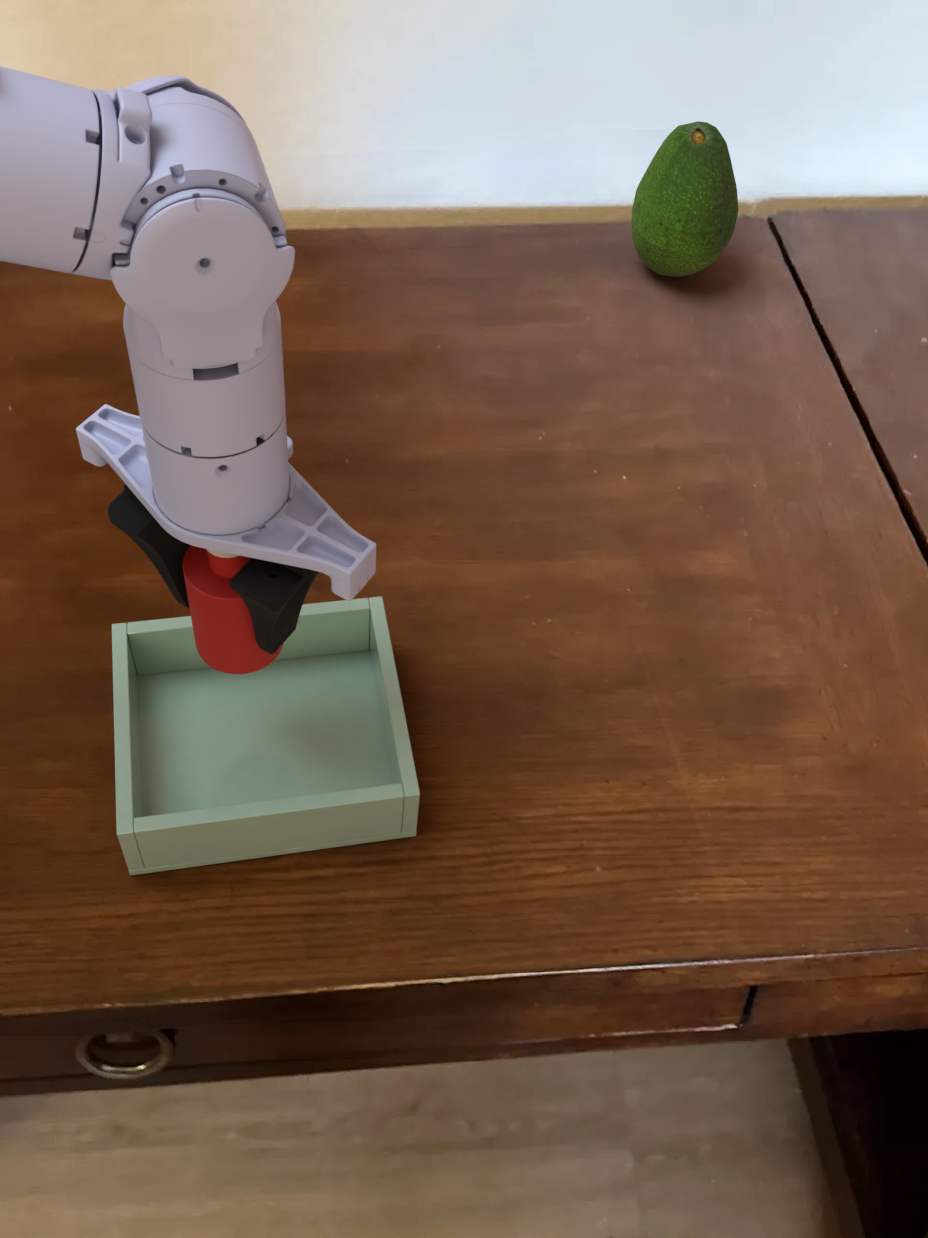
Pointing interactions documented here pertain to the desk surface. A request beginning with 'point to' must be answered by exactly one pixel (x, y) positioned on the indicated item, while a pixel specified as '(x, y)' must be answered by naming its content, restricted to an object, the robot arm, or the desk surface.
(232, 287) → the robot arm
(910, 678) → the desk surface
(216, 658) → the bottle
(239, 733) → the tray
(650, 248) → the fruit
